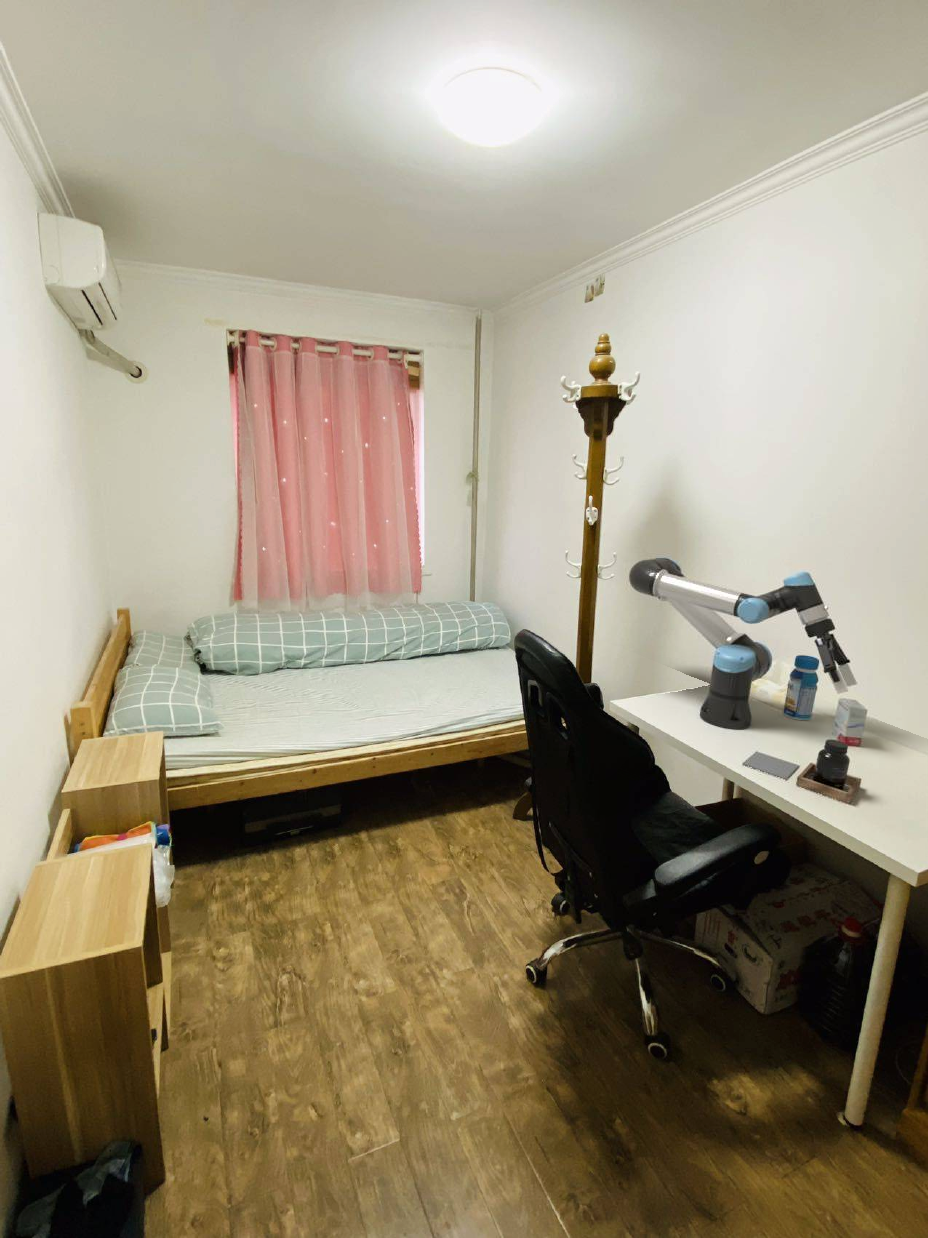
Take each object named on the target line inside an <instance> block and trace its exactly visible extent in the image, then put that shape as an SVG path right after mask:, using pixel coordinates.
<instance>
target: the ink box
mask: <svg viewBox="0 0 928 1238" xmlns="http://www.w3.org/2000/svg"><path fill="white" fill-rule="evenodd" d="M867 714H868V709H867V708H866V707H865V706H863V704H861V703H860V702H859V701H858V700H857V699H851V698H843V697H839V698H838V701H837V707H836V712H835V717H834V721H833V723H834V724H833V725H832V726H833V728H832V732H831V733H832V735H833V736H834V737H835V738H836V740H838V741H841V742H844V743H846V744H847V745H848V746H852V747H853V746H854V747H861V742H862V738H863V735H864V729H865V723H866V719H867Z"/></svg>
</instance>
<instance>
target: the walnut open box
mask: <svg viewBox="0 0 928 1238" xmlns="http://www.w3.org/2000/svg"><path fill="white" fill-rule="evenodd" d="M815 768H816V763H813V762H810V763H809V764H807V766H806V767H805V768H804V769H803V771H801V773H799V775H797V778H796V779H797V780H796V784H795V786H796V785H797V786H798V788H800V787H801V789H803V788H804V790H806V791H809V790H810V791H809V792H812V791H813V793H815V792H816V793H815V794H817V793H819V794H818V795H820V794H822V795H821V796H823V797H826V796H828V797H827V798H829V799H832V798H833V799H832V800H835V799H836V800H835V801H837V800H838V802H840V801H841V803H843V802H844V804H846V805H849V804H850V803H851V801H852V799H853V798H854V797H855V795H856V794H857V793H858V792H859V790H860V788H861V783H862V778H860V777H857V776H854V775H851V774H848V773H847V777H846V782H845V786H849V787H850V788H849V790H848V791H845V790H843V791H842V790H839V789H836V788H833V787H830V786H827V785H824V784H821V783H818V782H815V781H813V779H809V777H810V776H811V775H812V774H813V775H814V773H815ZM797 786H796V787H797Z"/></svg>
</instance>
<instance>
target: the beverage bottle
mask: <svg viewBox="0 0 928 1238" xmlns="http://www.w3.org/2000/svg"><path fill="white" fill-rule="evenodd" d="M819 664H820V659H819V658H817V657H815V656H811V655H805V654H800V655H796V656H795V658H794V667H795V668H794V669H793V670H791V672H790V674H789V680H788V682H787V689H786V694H785V695H786V696H785V701H784V707H783V711H782V712H783V715H785V716H786V717H788V718H790V719H792V720H797V721H809V720H811V719H812V715H813V710H814V705H815V700H816V694H817V691H818V682H819V676H818V674H817V670H818V669H819V666H820V665H819Z"/></svg>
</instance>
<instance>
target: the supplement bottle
mask: <svg viewBox="0 0 928 1238" xmlns="http://www.w3.org/2000/svg"><path fill="white" fill-rule="evenodd" d="M824 743H825V744H824V747H823V749H820V750H819V752H818V754H817V757H816V763H815V764H816V768H815V773H814V774H813V778H812V781H815V782H818V783H821V784H824V785H827V786H830V787H833V788H836V789H839V790H842V791H845V786H846V784H845V782H846V777H847V774H848V771H849V767H850V763H851V762H850V761H851V760H850V757H849V756H848V755H847V754H848V748H849V745H847V744H846V743H844V742H841V741H839V740H838V739H831V738H830V739H826V740H825V742H824Z"/></svg>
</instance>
